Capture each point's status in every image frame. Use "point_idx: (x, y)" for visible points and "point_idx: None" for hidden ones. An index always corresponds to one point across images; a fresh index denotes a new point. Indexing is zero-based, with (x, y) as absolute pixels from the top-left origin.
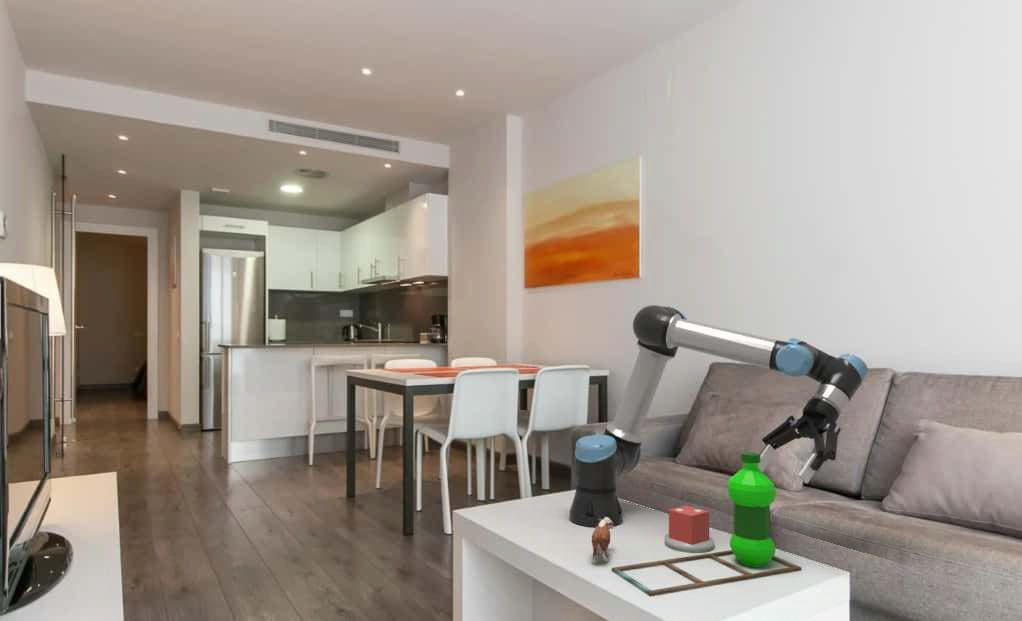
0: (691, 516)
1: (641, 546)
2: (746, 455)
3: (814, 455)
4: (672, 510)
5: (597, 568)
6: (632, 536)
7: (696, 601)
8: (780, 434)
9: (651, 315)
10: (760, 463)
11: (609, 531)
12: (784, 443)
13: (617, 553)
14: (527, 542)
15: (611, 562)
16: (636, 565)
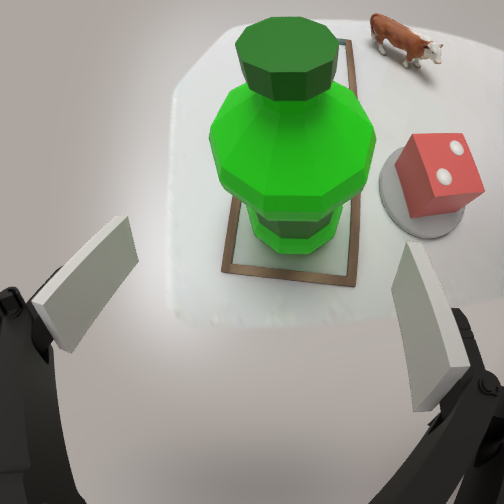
0: (412, 134)
1: (433, 122)
2: (270, 19)
3: (39, 294)
4: (457, 135)
5: (363, 37)
6: (477, 146)
7: (224, 62)
8: (441, 497)
9: None
10: (407, 271)
11: (410, 43)
12: (390, 483)
13: (411, 79)
14: (461, 43)
15: (379, 56)
16: (349, 60)
